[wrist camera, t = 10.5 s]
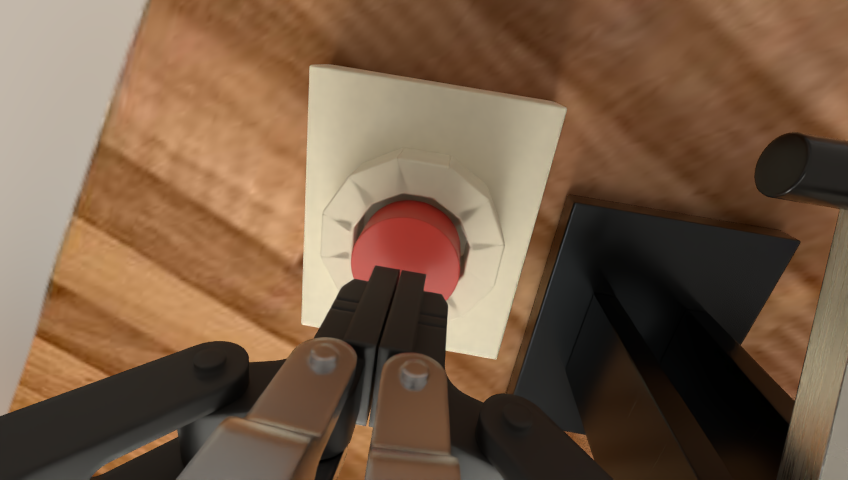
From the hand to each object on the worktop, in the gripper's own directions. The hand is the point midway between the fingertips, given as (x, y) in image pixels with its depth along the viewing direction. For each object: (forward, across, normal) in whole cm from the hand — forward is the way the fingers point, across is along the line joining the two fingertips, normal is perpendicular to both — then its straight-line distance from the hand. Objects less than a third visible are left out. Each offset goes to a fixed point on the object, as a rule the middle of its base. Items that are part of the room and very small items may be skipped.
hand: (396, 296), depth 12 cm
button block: (+7, 0, 0) cm, 7 cm away
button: (+3, 0, 0) cm, 3 cm away
